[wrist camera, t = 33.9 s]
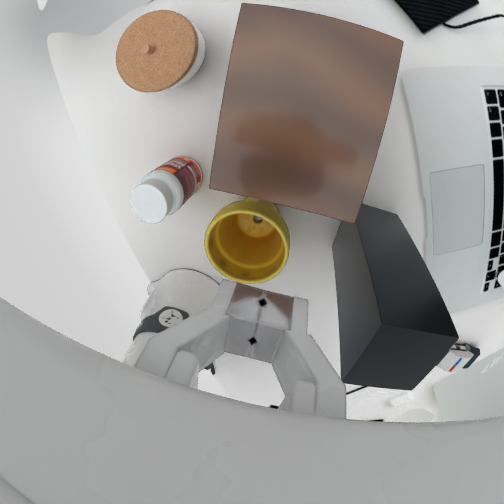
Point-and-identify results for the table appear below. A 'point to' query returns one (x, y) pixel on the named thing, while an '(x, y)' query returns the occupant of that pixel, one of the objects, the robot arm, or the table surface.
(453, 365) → the toy car
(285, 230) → the flower pot
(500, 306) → the table surface
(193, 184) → the pill bottle
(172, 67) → the trinket box
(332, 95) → the chest lid
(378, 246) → the stand
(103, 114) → the table surface
